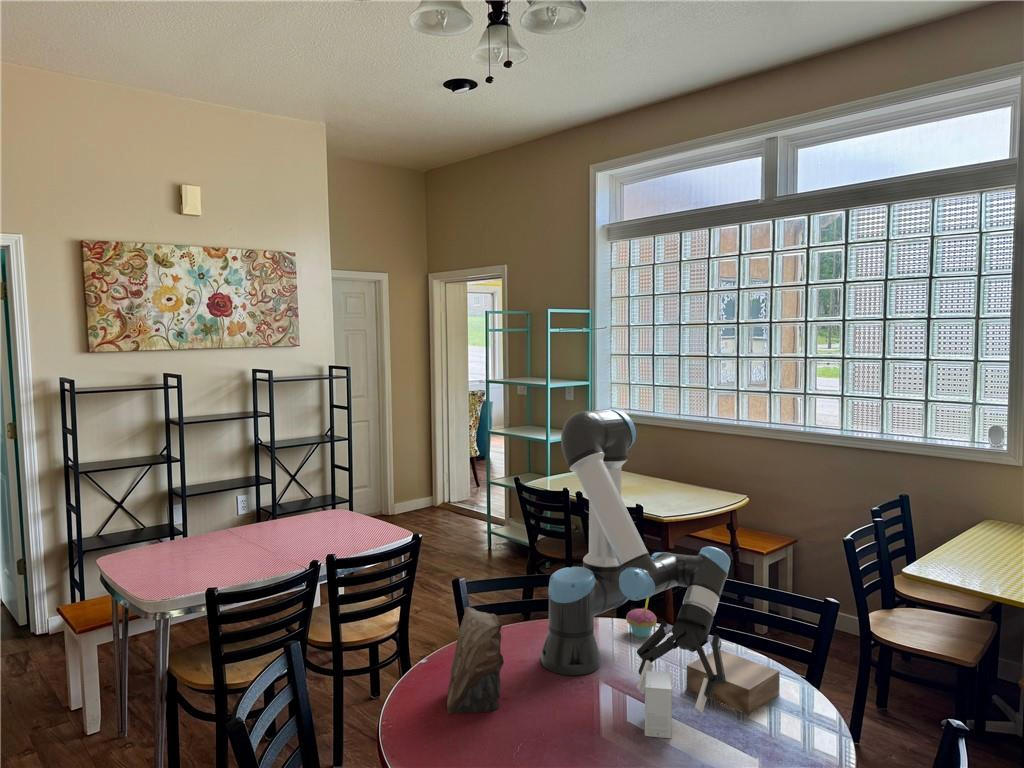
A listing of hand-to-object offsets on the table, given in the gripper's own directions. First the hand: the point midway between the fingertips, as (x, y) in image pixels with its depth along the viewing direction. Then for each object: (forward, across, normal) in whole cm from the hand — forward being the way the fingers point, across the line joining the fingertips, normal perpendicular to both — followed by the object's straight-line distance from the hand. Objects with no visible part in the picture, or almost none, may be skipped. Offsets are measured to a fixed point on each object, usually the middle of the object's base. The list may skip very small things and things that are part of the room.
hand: (668, 700), depth 147 cm
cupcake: (-24, +28, -32) cm, 49 cm away
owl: (+18, +39, +11) cm, 45 cm away
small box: (+6, +1, -2) cm, 6 cm away
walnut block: (-12, -5, -21) cm, 25 cm away
